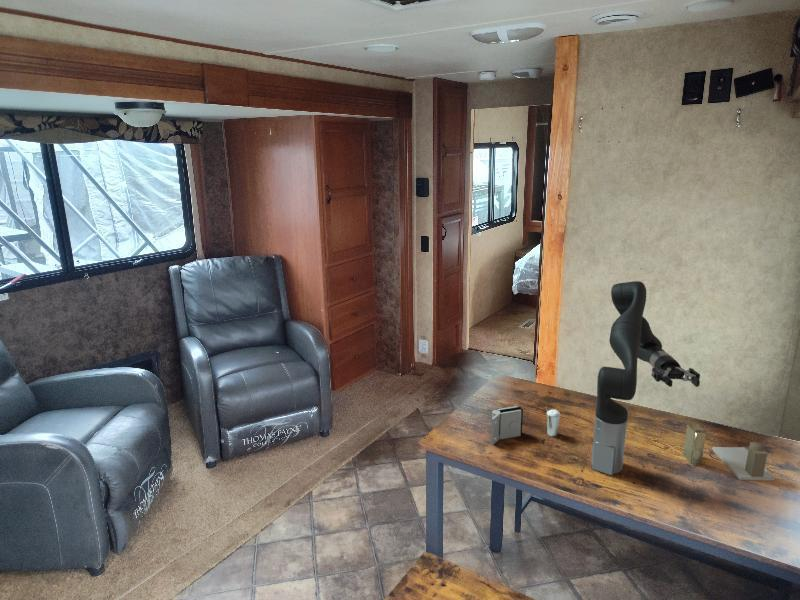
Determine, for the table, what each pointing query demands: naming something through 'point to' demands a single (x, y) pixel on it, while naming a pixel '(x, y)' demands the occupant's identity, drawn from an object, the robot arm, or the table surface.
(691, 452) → the brown tall block
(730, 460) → the mounting plate
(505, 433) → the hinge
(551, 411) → the milkshake
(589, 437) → the table surface
